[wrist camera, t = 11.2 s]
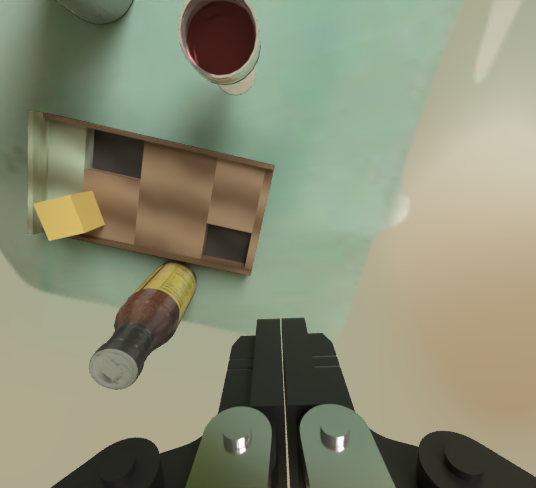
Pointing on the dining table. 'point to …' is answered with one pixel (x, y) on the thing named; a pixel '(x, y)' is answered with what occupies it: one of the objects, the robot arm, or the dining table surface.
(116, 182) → the trap deck
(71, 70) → the dining table surface
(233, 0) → the wineglass
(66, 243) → the dining table surface
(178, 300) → the sauce bottle
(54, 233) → the mustard block
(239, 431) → the robot arm
